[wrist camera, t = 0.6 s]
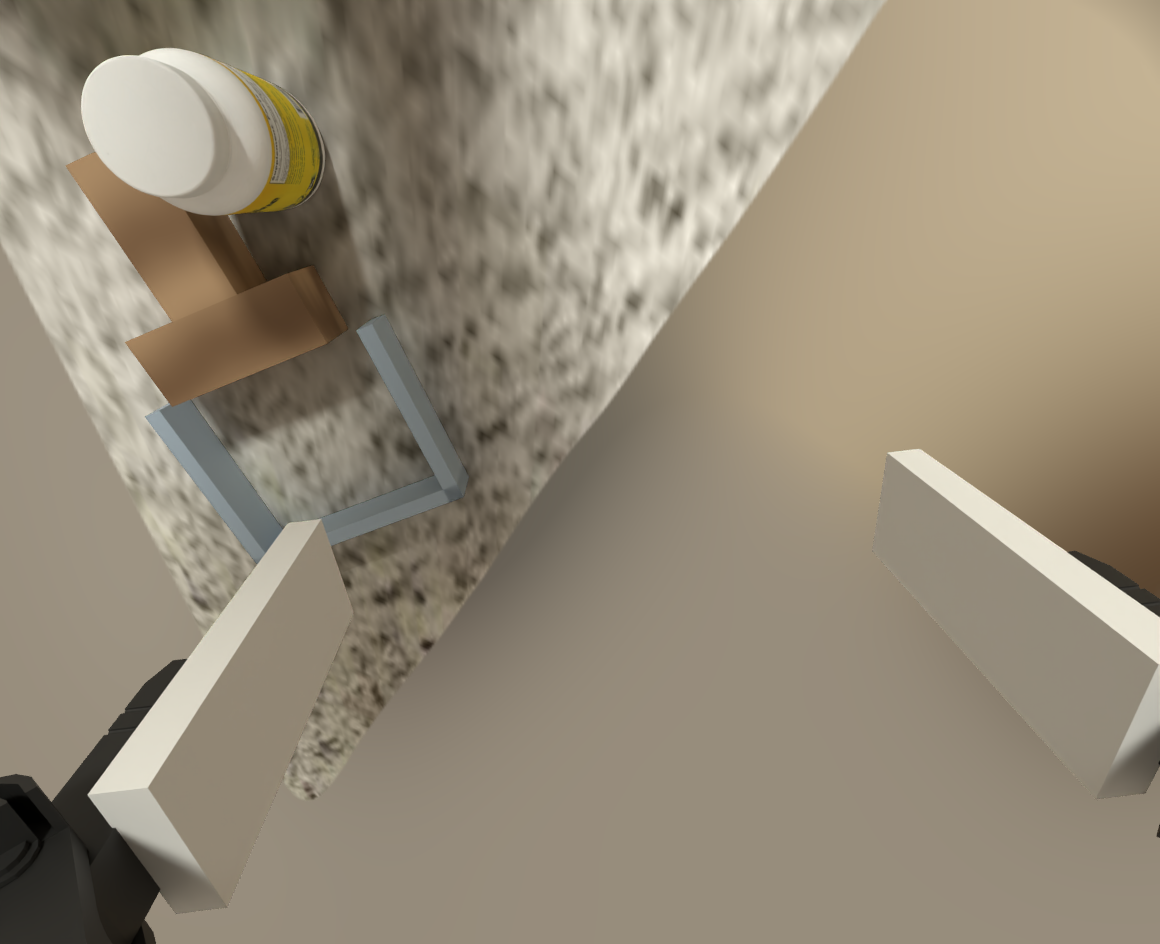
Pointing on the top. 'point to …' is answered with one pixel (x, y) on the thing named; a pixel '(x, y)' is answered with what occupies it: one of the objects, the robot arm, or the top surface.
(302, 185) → the pill bottle
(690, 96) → the top surface
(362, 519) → the dock
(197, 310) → the t block
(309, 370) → the top surface
